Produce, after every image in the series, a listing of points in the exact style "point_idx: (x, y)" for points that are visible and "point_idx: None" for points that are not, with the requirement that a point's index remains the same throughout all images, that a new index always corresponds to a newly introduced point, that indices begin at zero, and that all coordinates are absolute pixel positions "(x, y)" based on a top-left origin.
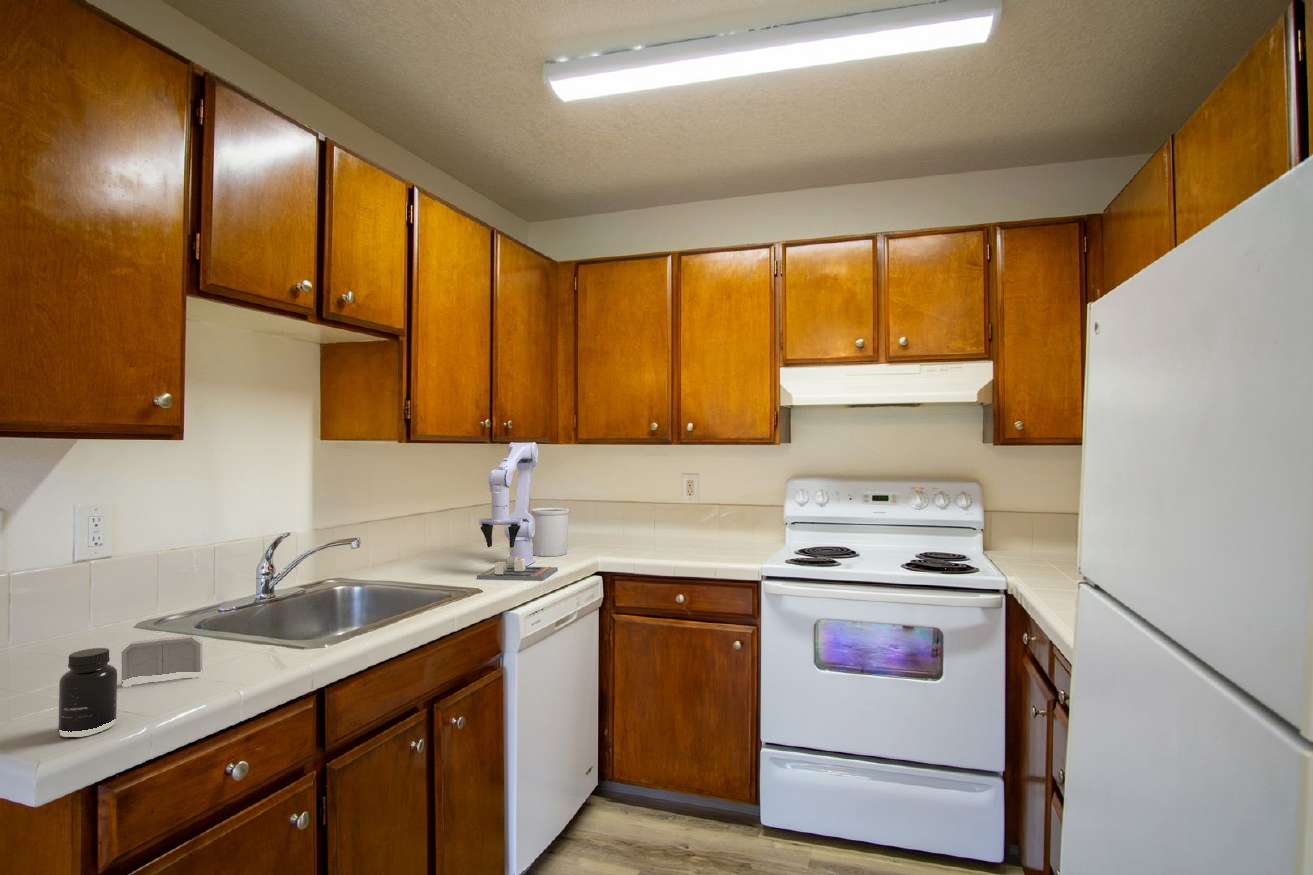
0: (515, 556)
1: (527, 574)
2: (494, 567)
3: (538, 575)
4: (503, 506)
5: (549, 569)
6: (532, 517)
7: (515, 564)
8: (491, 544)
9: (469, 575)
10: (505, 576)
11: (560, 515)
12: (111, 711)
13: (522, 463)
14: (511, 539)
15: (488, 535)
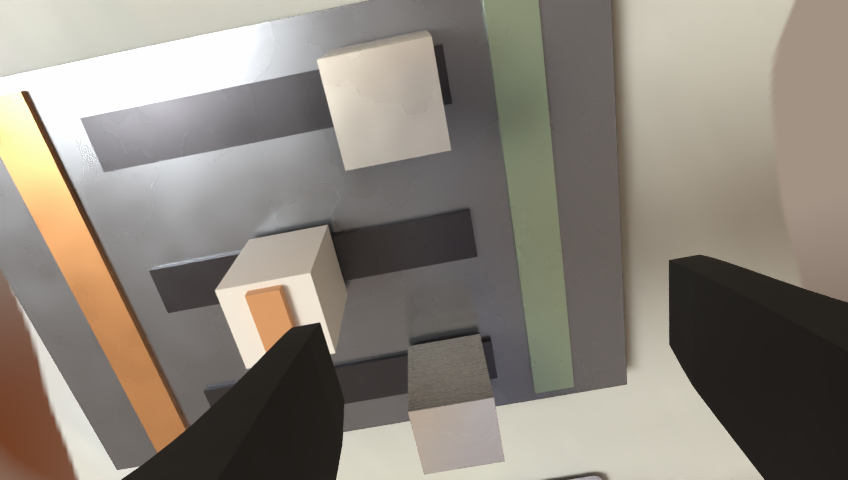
0: (426, 437)
1: (109, 135)
2: (611, 333)
3: (2, 150)
4: None
5: (114, 391)
6: None
7: (305, 254)
8: (683, 350)
9: (745, 97)
10: (289, 18)
11: None
12: None
13: None
14: (229, 398)
15: (825, 375)
